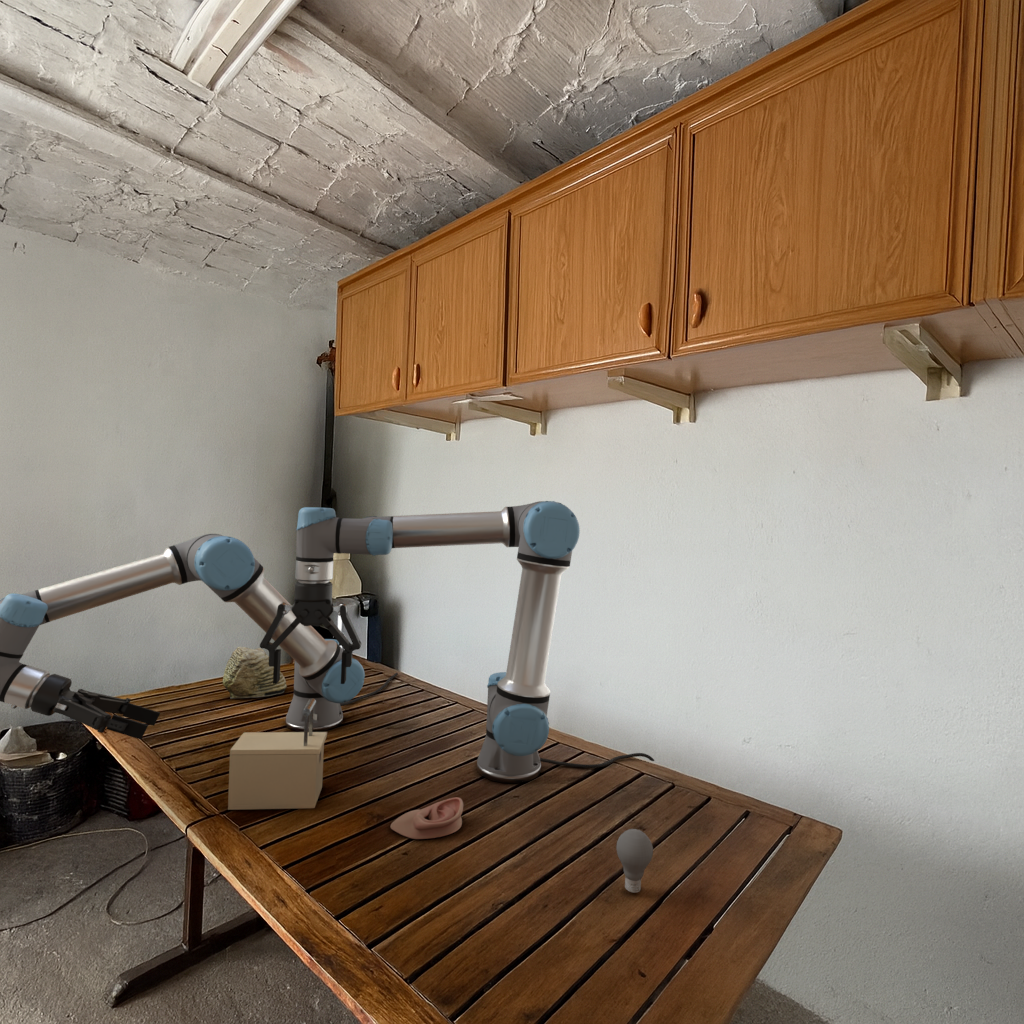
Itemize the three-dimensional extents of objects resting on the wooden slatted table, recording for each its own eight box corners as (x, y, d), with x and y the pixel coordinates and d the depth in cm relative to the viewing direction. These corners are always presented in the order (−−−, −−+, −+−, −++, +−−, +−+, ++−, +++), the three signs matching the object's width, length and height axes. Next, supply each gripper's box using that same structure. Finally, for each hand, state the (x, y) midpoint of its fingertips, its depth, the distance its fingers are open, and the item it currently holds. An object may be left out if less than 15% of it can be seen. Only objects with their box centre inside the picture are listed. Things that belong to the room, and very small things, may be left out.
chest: (322, 787, 138) (324, 736, 138) (314, 808, 129) (316, 754, 129) (241, 788, 136) (243, 737, 136) (227, 809, 127) (229, 755, 126)
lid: (327, 736, 138) (328, 696, 138) (319, 754, 129) (321, 710, 129) (243, 736, 136) (245, 696, 136) (229, 754, 126) (231, 710, 126)
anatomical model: (384, 813, 120) (406, 787, 131) (383, 834, 120) (405, 806, 131) (452, 824, 117) (468, 796, 128) (451, 845, 117) (467, 815, 128)
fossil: (218, 695, 195) (220, 647, 195) (278, 685, 208) (279, 640, 207) (228, 703, 189) (230, 653, 188) (289, 692, 201) (290, 645, 201)
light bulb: (610, 879, 108) (613, 822, 108) (644, 879, 109) (647, 822, 109) (619, 902, 102) (622, 840, 102) (655, 901, 103) (658, 840, 103)
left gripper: (51, 699, 135) (153, 730, 141) (4, 722, 112) (128, 758, 118) (69, 665, 137) (169, 698, 143) (27, 681, 114) (148, 718, 120)
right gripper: (246, 581, 127) (242, 687, 127) (373, 585, 130) (369, 687, 131) (256, 577, 134) (252, 676, 135) (376, 580, 138) (372, 677, 138)
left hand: (151, 725), depth 130 cm, fingers open, 13 cm apart
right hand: (310, 682), depth 133 cm, fingers open, 13 cm apart
